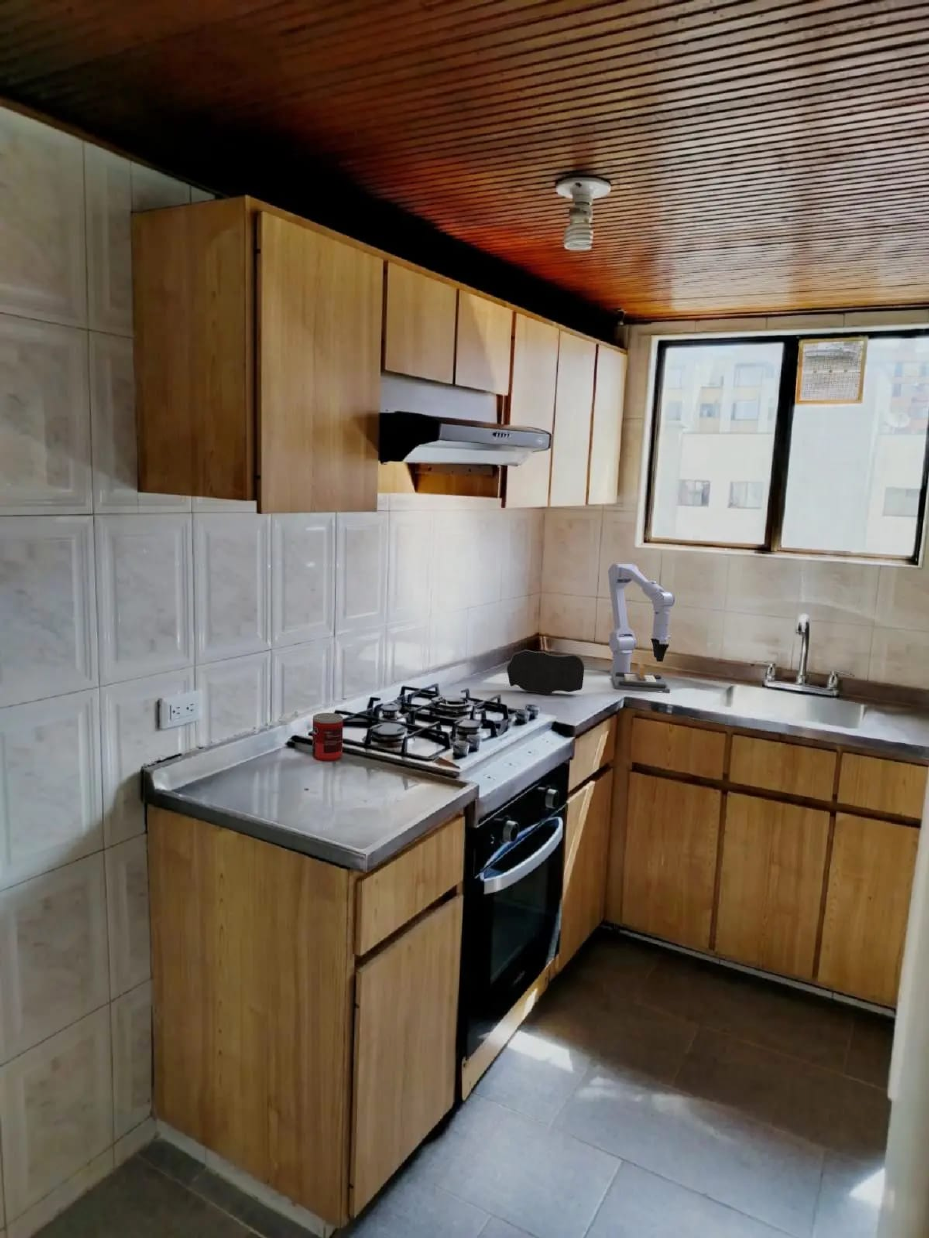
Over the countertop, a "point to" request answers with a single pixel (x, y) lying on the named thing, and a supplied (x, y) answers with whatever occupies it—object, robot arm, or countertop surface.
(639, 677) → the breaker lever
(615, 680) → the switch board
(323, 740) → the canned food
